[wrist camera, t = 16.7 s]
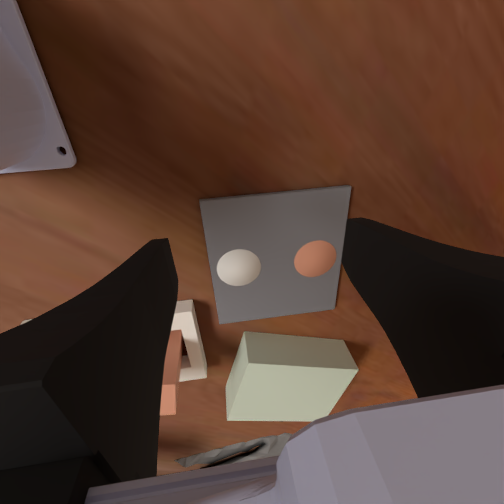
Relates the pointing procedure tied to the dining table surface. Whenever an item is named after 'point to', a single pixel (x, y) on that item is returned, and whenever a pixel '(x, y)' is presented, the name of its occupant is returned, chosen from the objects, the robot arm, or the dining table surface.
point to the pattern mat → (275, 251)
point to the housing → (287, 377)
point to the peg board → (188, 341)
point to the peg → (171, 374)
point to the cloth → (266, 449)
